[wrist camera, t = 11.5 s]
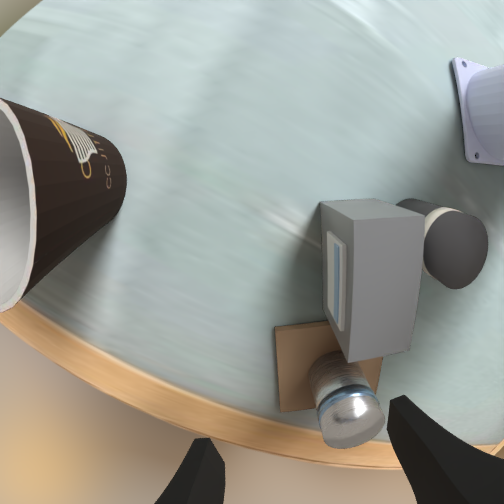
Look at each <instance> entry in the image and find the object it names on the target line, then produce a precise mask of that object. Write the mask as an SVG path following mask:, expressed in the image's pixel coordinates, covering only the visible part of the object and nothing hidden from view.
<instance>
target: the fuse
mask: <svg viewBox="0 0 504 504" xmlns="http://www.w3.org/2000/svg"><path fill="white" fill-rule="evenodd" d="M308 376H309V381H310V385H311V389H312V393H313V397H314V401H315V405H316V410H317V417H318V421H319V425H320V428H321V430H322V435H323V439H324V442H325V443H326V444H327V445H328V446H330V447H332V448H337V449H345V448H352V447H355V446H358V445H361V444H363V443H365V442H367V441H369V440H370V439H372V438H373V437H375V436H376V435H377V434H378V433H379V432H380V431H381V429H382V428H383V426H384V423H385V417H384V414H383V412H382V410H381V408H380V405H379V402H378V400H377V398H376V396H375V394H374V392H373V390H372V389H371V387H370V385H369V383H368V381H367V379H366V377H365V375H364V373H363V371H362V369H361V367H360V365H359V363H358V361H356V362H351V363H348V362H347V360H346V358H345V356H344V353H343V351H332V352H329V353H326V354H324V355H322V356H321V357H319V358H318V359H317V360H316V361H315V362H314V363H313V364H312V365H311V367H310V369H309V374H308Z"/></svg>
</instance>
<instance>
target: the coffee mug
mask: <svg viewBox="0 0 504 504" xmlns="http://www.w3.org/2000/svg"><path fill="white" fill-rule="evenodd" d="M126 186H127V174H126V169H125V164H124V161H123V159H122V156H121V154H120V153H119V151H118V149H117V148H116V147H115V146H114V145H113V144H112V143H111V142H110V141H109V140H107V139H106V138H104V137H102V136H100V135H97V134H95V133H92V132H90V131H87V130H85V129H82V128H80V127H77V126H75V125H72V124H70V123H67V122H65V121H62V120H60V119H57V118H54V117H52V116H49V115H46V114H44V113H41V112H38V111H36V110H33V109H30V108H28V107H25V106H22V105H19V104H16V103H14V102H11V101H8V100H5V99H2V98H0V313H1V312H5V311H7V310H9V309H11V308H12V307H14V306H15V304H16V303H17V302H18V301H19V300H20V299H21V298H22V297H23V296H25V295H26V294H27V293H28V292H29V291H30V290H31V289H32V288H33V287H34V286H35V285H36V284H37V283H38V282H39V281H40V280H41V279H42V278H43V277H44V276H46V275H47V274H48V273H49V272H50V271H51V270H52V269H53V268H54V267H55V266H57V265H58V264H59V263H60V262H61V261H62V260H63V259H65V258H66V257H67V256H68V255H69V254H70V253H72V252H73V251H74V250H75V249H76V248H77V247H79V246H80V245H81V244H82V243H83V242H85V241H86V240H87V239H88V238H89V237H91V236H92V235H93V234H94V233H96V232H97V231H98V230H99V229H101V228H102V227H103V226H105V225H106V224H107V223H108V222H109V221H111V220H112V219H113V217H114V216H115V215H116V214H117V213H118V211H119V209H120V207H121V205H122V203H123V200H124V197H125V193H126Z"/></svg>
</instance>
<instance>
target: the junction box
mask: <svg viewBox="0 0 504 504" xmlns="http://www.w3.org/2000/svg"><path fill="white" fill-rule="evenodd" d="M320 213H321V236H322V279H323V310H324V313H325V315H326V317H327V319H328V321H329V323H330V325H331V327H332V330H333V332H334V334H335V336H336V338H337V340H338V343H339V345H340V347H341V349H342V351H343V353H344V356H345V358H346V360H347V362H348V363H351V362H356V361H362V360H367V359H372V358H377V357H382V356H386V355H391V354H395V353H400V352H404V351H408V350H409V349H410V344H411V339H412V334H413V329H414V323H415V317H416V311H417V305H418V298H419V290H420V282H421V273H422V262H423V249H424V232H425V215H422V214H419V213H417V212H414V211H411V210H408V209H405V208H402V207H399V206H396V205H393V204H390V203H386V202H383V201H380V200H377V199H354V200H337V201H321V202H320Z"/></svg>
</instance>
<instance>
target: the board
mask: <svg viewBox="0 0 504 504" xmlns="http://www.w3.org/2000/svg"><path fill="white" fill-rule="evenodd" d="M275 338H276V353H277V368H278V384H279V400H280V412H289V411H297V410H305V409H312V408H316V405H315V401H314V397H313V393H312V389H311V385H310V381H309V376H308V374H309V369H310V367H311V365H312V364H313V363H314V362H315V361H316V360H317V359H318V358H319V357H321V356H322V355H324V354H326V353H329V352H332V351H342V349H341V347H340V345H339V343H338V340H337V338H336V336H335V334H334V332H333V330H332V327H331V325H330V323H329V321H322V322H314V323H305V324H296V325H287V326H277V327H275ZM382 360H383V356H382V357H377V358H372V359H367V360H362V361H358V363H359V365H360V367H361V369H362V371H363V373H364V375H365V377H366V379H367V381H368V383H369V385H370V387H371V389H372V390H373V392H374V394H375V395H376V390H377V386H378V381H379V376H380V371H381V365H382Z"/></svg>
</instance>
